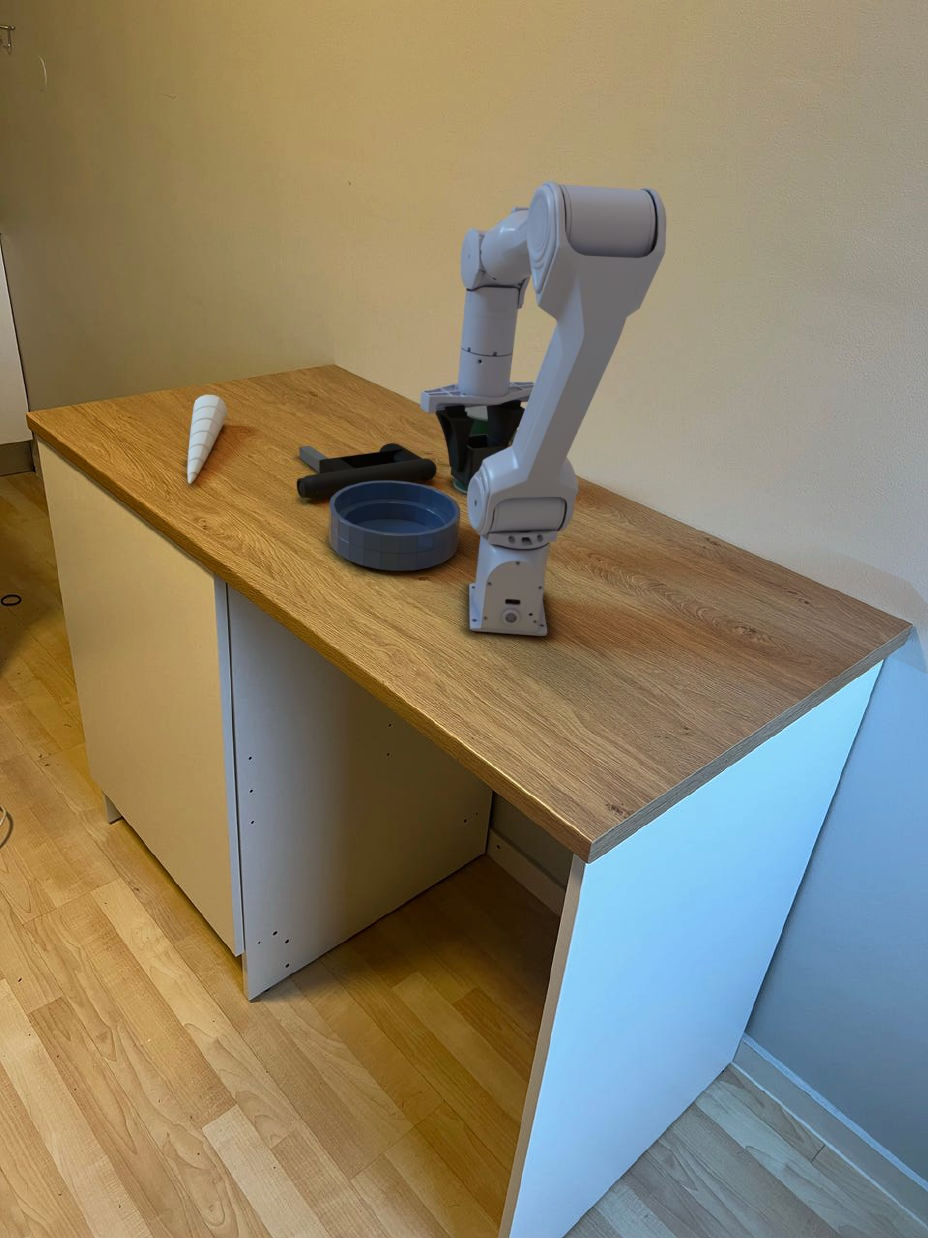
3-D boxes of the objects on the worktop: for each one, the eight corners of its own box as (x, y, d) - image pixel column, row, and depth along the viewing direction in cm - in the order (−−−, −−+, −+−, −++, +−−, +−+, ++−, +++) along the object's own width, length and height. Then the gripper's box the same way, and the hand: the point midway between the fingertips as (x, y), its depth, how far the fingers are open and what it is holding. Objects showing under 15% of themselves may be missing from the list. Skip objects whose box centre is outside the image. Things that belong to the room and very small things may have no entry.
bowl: (456, 580, 105) (460, 540, 102) (321, 569, 104) (321, 529, 102) (457, 522, 118) (460, 485, 115) (336, 512, 117) (337, 475, 115)
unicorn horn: (159, 485, 119) (156, 449, 117) (196, 423, 140) (194, 391, 137) (197, 488, 120) (195, 452, 117) (228, 425, 140) (227, 394, 138)
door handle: (259, 446, 127) (308, 483, 116) (388, 430, 137) (445, 463, 126) (260, 469, 129) (308, 508, 117) (387, 452, 139) (444, 486, 127)
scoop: (500, 483, 108) (505, 446, 106) (468, 488, 106) (471, 450, 104) (467, 458, 114) (470, 422, 112) (435, 462, 112) (438, 425, 110)
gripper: (523, 335, 108) (509, 447, 114) (410, 342, 101) (403, 460, 108) (557, 353, 102) (541, 468, 109) (441, 360, 96) (432, 483, 103)
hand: (475, 466), depth 108 cm, fingers closed on scoop, 4 cm apart
